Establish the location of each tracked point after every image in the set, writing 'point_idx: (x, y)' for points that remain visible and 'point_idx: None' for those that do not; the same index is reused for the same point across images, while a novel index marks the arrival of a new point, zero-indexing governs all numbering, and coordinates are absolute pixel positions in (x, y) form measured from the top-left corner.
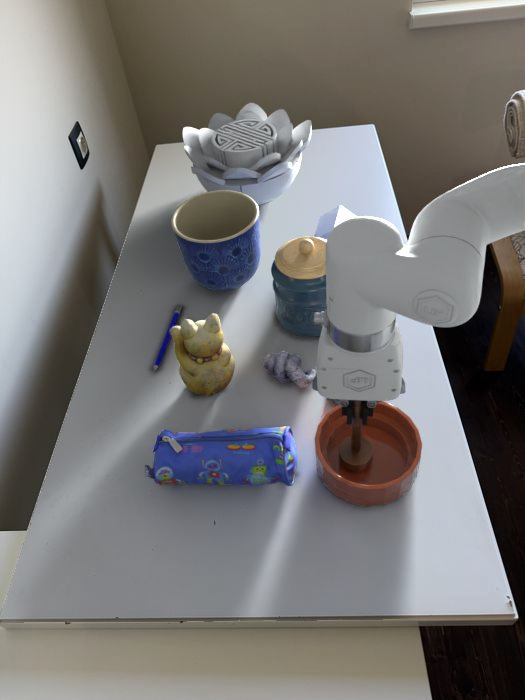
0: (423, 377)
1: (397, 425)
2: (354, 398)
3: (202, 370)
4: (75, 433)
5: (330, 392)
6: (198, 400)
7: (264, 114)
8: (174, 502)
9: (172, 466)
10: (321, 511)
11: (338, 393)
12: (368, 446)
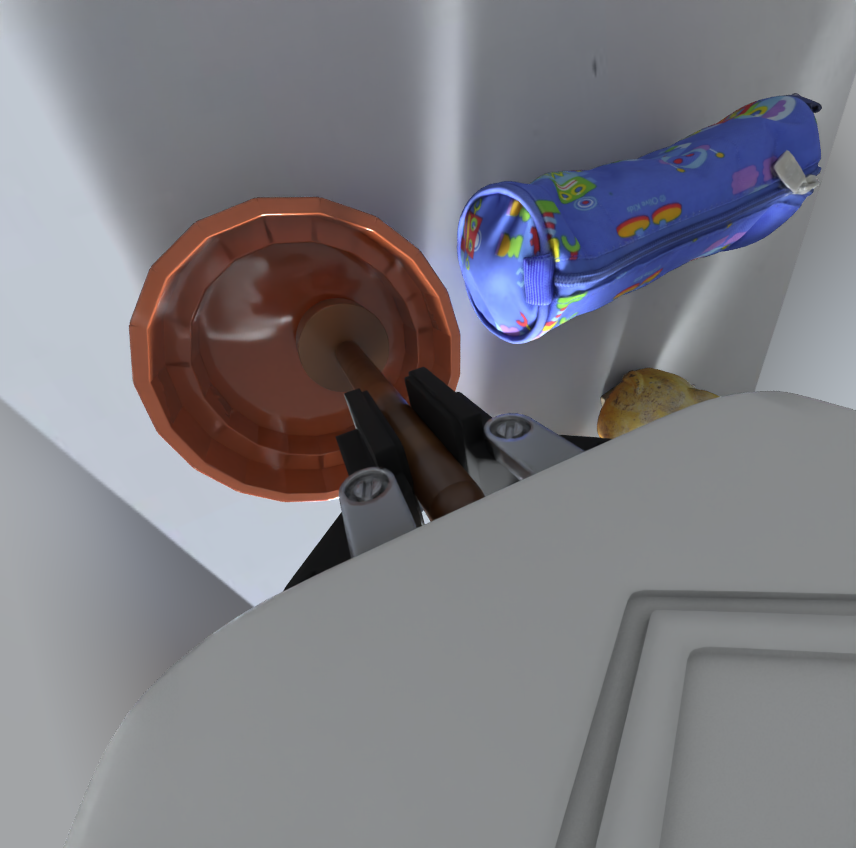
0: (271, 573)
1: (270, 458)
2: (564, 482)
3: (688, 403)
4: (796, 227)
5: (812, 439)
6: (633, 360)
7: None
8: (668, 109)
9: (773, 120)
10: (370, 168)
11: (749, 463)
12: (318, 373)
